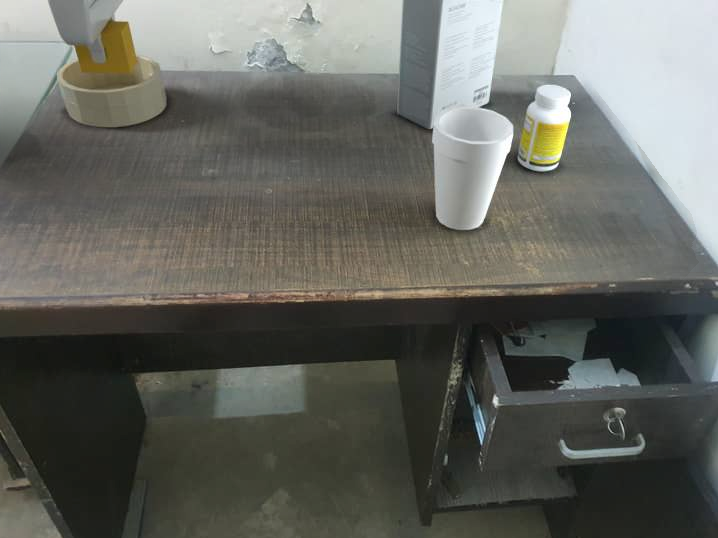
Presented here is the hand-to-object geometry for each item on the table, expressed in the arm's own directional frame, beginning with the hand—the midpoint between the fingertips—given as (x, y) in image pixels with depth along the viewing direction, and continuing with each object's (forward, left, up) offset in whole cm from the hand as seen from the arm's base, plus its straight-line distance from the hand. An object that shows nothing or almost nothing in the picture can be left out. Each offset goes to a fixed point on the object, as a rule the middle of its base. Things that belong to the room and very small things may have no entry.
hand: (106, 53), depth 94 cm
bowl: (0, 0, -8) cm, 8 cm away
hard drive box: (+52, +1, -8) cm, 53 cm away
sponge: (0, 0, -2) cm, 2 cm away
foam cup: (+50, -30, -8) cm, 59 cm away
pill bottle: (+64, -16, -8) cm, 66 cm away
